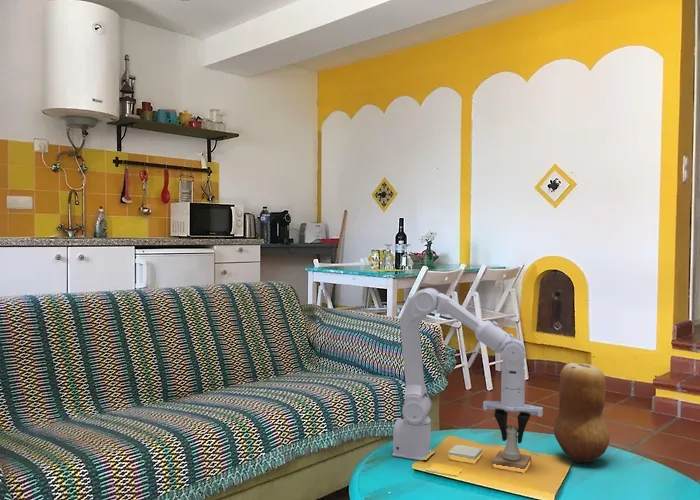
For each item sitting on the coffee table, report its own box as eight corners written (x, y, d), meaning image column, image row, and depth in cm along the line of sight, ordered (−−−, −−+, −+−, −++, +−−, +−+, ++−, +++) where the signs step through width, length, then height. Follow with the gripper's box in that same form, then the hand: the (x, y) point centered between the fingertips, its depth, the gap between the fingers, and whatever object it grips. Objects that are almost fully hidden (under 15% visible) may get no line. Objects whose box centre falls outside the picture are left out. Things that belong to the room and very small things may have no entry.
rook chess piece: (520, 462, 152) (521, 429, 152) (502, 460, 153) (502, 428, 153) (520, 456, 156) (521, 424, 156) (502, 454, 157) (503, 423, 157)
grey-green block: (448, 459, 158) (448, 452, 158) (455, 452, 165) (456, 444, 165) (475, 464, 155) (475, 456, 155) (481, 456, 162) (481, 448, 162)
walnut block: (492, 467, 153) (492, 459, 153) (499, 458, 160) (499, 450, 160) (525, 473, 149) (525, 465, 149) (530, 463, 157) (530, 455, 157)
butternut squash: (620, 466, 156) (621, 367, 156) (577, 471, 151) (579, 370, 151) (582, 449, 169) (583, 358, 169) (541, 454, 164) (543, 360, 164)
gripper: (480, 387, 154) (479, 441, 154) (540, 393, 148) (539, 449, 148) (487, 381, 161) (486, 433, 161) (544, 387, 154) (543, 441, 154)
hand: (512, 441), depth 155 cm, fingers closed on rook chess piece, 3 cm apart
